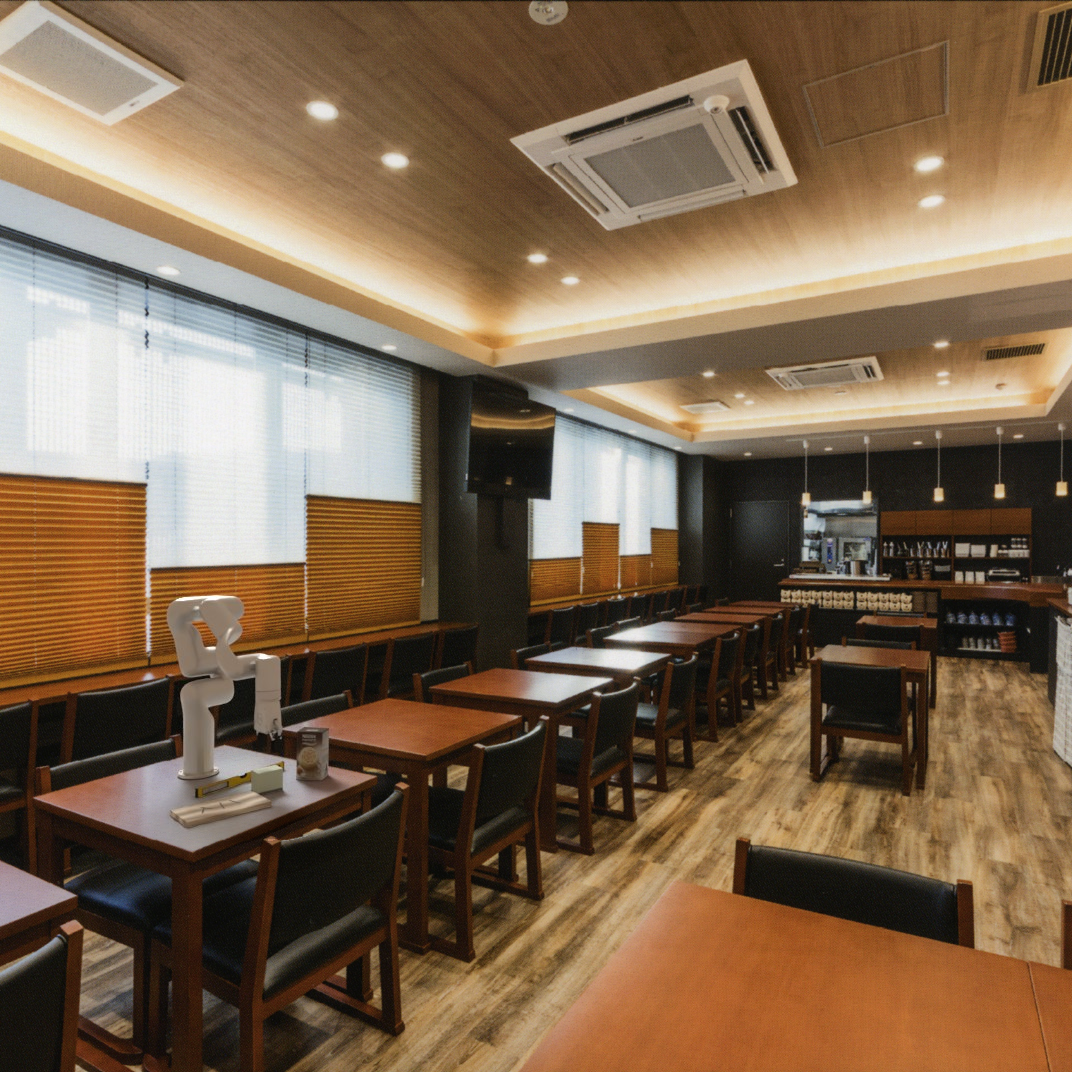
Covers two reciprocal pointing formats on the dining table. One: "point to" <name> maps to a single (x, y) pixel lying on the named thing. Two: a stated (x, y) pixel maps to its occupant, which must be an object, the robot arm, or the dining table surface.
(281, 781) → the sanding block
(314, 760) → the coffee box
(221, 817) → the board
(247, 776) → the spirit level
